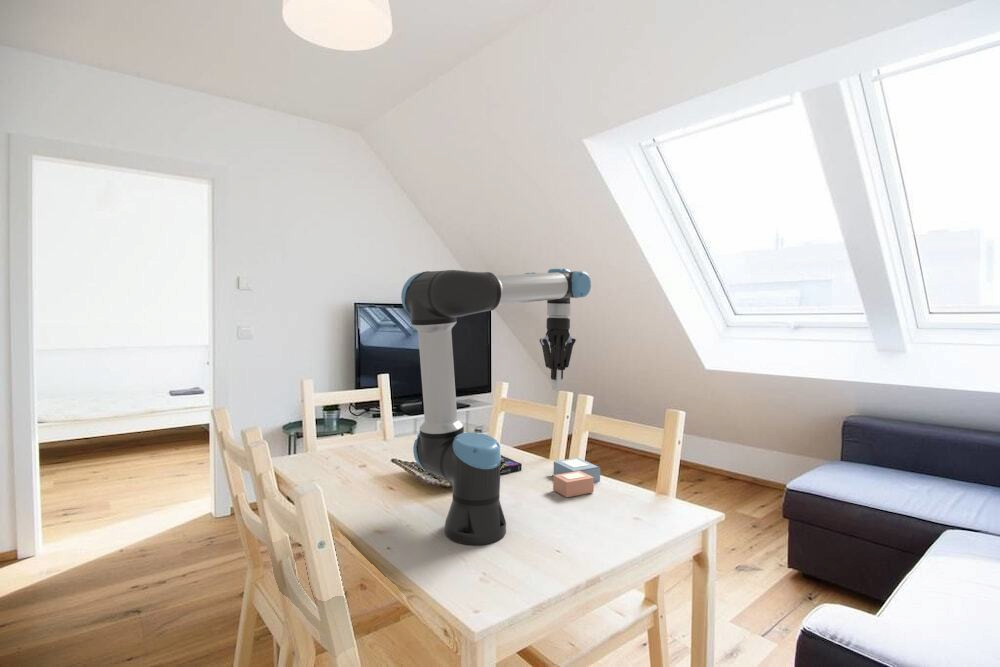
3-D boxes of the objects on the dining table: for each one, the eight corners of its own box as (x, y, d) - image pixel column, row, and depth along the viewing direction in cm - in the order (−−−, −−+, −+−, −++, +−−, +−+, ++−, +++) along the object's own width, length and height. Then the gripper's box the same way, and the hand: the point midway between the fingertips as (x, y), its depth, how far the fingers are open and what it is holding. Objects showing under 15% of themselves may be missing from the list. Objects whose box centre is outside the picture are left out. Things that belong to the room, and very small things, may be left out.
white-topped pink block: (593, 492, 151) (593, 477, 151) (566, 497, 147) (566, 481, 146) (579, 484, 157) (579, 470, 157) (553, 489, 153) (553, 474, 153)
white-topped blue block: (599, 481, 162) (600, 467, 162) (574, 485, 157) (575, 471, 157) (577, 470, 173) (577, 457, 172) (553, 474, 168) (553, 460, 168)
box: (474, 484, 160) (522, 472, 171) (474, 473, 160) (522, 462, 171) (452, 471, 171) (498, 461, 182) (452, 461, 171) (498, 451, 182)
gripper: (567, 317, 168) (566, 386, 169) (535, 316, 162) (533, 389, 163) (581, 317, 161) (579, 390, 162) (547, 317, 155) (546, 392, 156)
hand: (556, 389), depth 162 cm, fingers closed
